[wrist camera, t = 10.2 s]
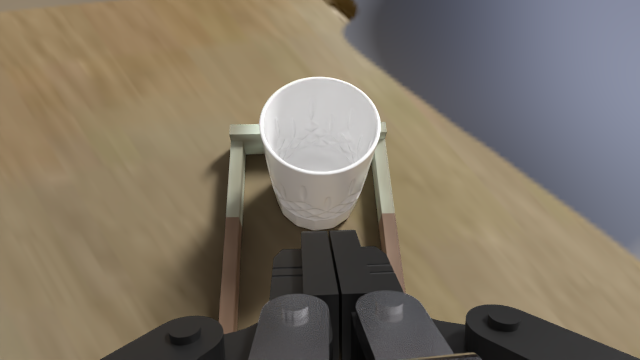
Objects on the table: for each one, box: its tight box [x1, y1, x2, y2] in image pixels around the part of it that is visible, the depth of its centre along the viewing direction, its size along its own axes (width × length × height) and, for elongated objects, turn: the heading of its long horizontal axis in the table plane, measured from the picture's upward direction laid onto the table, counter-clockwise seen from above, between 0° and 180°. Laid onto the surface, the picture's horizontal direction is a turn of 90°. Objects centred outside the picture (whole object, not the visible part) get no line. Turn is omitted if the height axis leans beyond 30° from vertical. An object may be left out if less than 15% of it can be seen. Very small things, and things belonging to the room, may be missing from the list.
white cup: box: [259, 77, 381, 231], centre depth 34 cm, size 8×8×10 cm
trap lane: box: [219, 122, 406, 334], centre depth 34 cm, size 13×24×3 cm, turn 2°
